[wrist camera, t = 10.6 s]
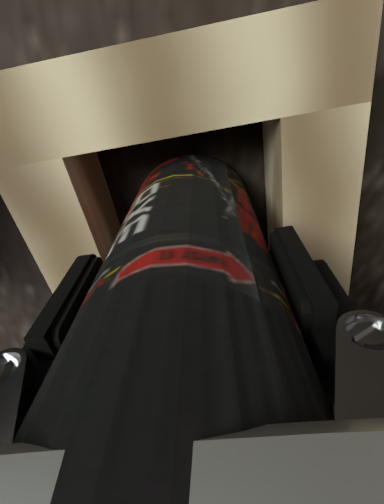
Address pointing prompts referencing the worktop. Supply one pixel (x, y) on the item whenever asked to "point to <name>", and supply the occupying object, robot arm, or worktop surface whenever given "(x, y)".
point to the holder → (197, 124)
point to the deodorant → (173, 345)
